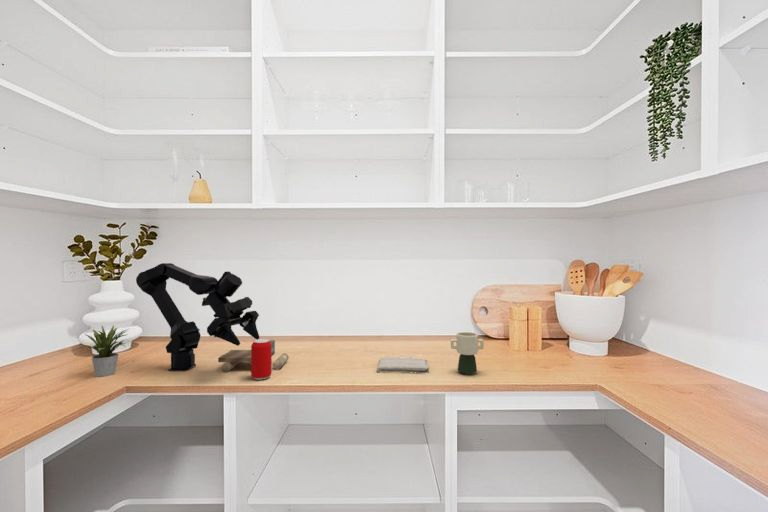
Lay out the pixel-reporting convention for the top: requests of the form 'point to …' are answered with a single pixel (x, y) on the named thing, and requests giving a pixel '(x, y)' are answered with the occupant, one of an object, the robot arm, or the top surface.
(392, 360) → the washcloth
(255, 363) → the beverage can
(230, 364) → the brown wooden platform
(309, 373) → the top surface
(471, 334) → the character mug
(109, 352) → the house plant
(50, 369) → the top surface
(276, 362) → the roller
